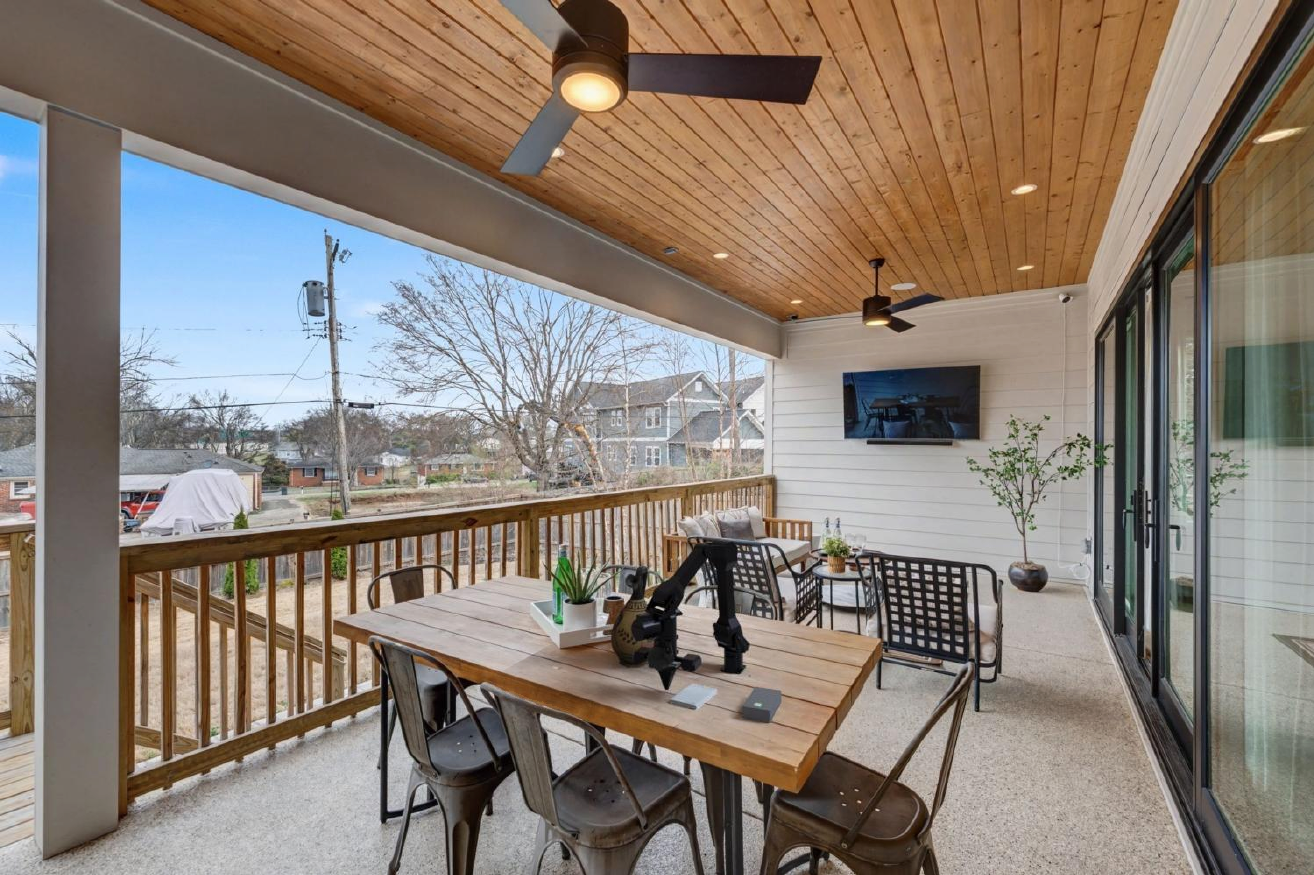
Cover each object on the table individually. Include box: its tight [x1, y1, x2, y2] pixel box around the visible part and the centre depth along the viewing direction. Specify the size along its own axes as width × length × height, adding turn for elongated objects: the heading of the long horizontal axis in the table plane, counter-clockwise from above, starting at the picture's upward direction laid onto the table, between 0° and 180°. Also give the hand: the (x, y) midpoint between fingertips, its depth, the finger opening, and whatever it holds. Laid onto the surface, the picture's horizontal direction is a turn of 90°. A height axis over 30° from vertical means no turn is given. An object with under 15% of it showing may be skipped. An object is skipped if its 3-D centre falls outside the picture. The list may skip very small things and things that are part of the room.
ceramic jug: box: [610, 565, 656, 668], centre depth 188 cm, size 17×15×30 cm
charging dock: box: [741, 686, 782, 724], centre depth 153 cm, size 13×8×3 cm, turn 156°
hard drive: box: [668, 683, 718, 710], centre depth 160 cm, size 2×8×12 cm
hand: (666, 689), depth 164 cm, fingers closed
